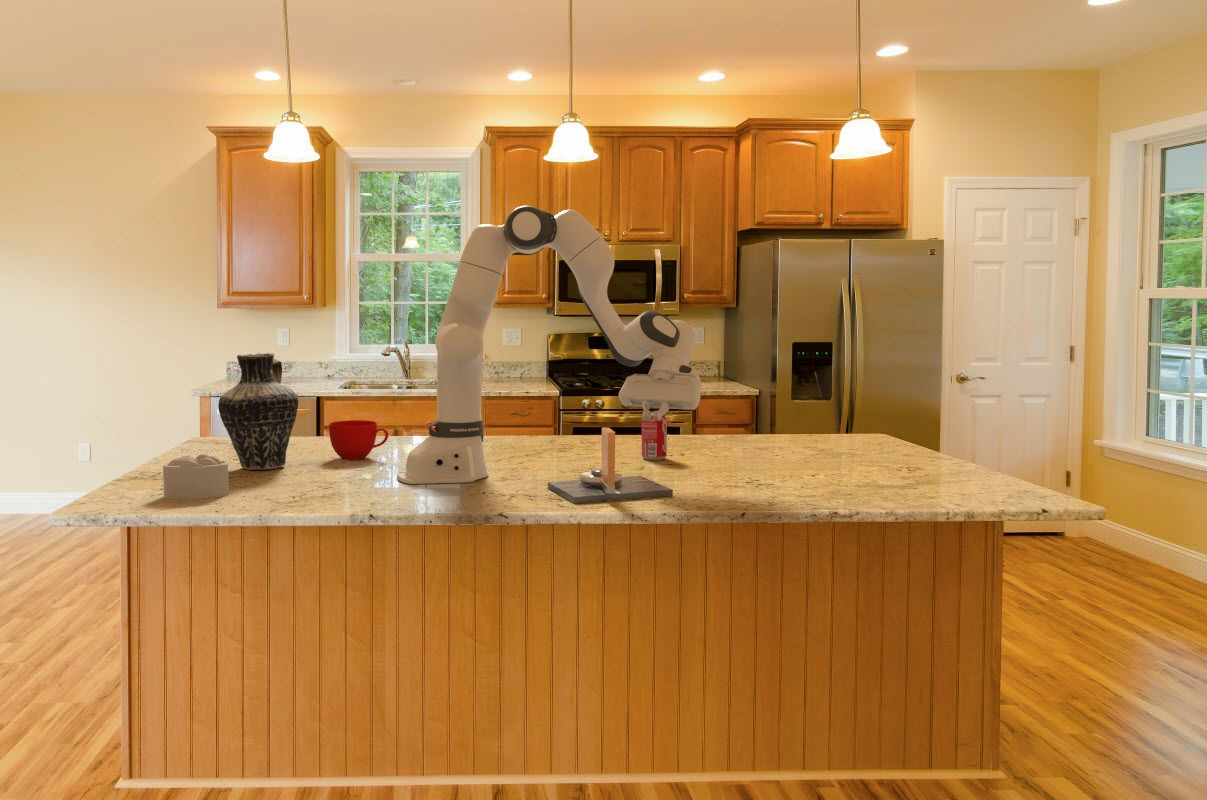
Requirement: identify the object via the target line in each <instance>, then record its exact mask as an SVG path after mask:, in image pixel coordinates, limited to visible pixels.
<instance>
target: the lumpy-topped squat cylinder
mask: <svg viewBox="0 0 1207 800" xmlns="http://www.w3.org/2000/svg"><path fill="white" fill-rule="evenodd" d="M162 472H163V473H162V476H163V477H162V478H163V496H164V497H163V498H164V499H167V500H207V499H215V498H217V499H218V498H221V497H222V498H223V497H226V496H228V495H229V494H230V487H229V464H228V462H227V461H225V460H221V459H220V458H218V457H216V456H214V455H209V454H204V453H202V454H199V455H197V456H196V457H194V456H191V455H190V456H189V455H184V456H183V455H182V456H179V457H177V458H174V459H172V460H170V461H169V462H168V463H167V464H164V465H163V466H162Z"/></svg>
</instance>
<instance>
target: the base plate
mask: <svg viewBox="0 0 1207 800" xmlns="http://www.w3.org/2000/svg"><path fill="white" fill-rule="evenodd" d="M547 489H548V490H549V491H552V492H553V493H555V494H556V495H558V496H560V497H562V498H563V499H566V500H567V501H569V502H571V504H574V505H575V504H586V503H588V504H590V503H603V502H613V501H614V502H615V501H624V500H625V501H627V500H628V501H629V500H640V499H652V498H665V497H667V498H668V497H673V495H674V489H673V488H669V487H668V486H666V485H663V484H661V483H659V482H655V481H653V480H650V478H649V479H648V478H646V477H643V476H641V475H632V476H622V482H621V483H620V484H617V485H615V494H607V493H606V492H605V491H604V490H603V489H602V487H601V486H593V485H586V484H582V483H580V482H579V479H576V480H575V479H573V480H560V481H548V482H547Z"/></svg>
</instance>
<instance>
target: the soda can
mask: <svg viewBox="0 0 1207 800" xmlns="http://www.w3.org/2000/svg"><path fill="white" fill-rule="evenodd" d="M654 412H655V411H653V412H651V411H650V413H651V417H650V420H644V419H643V417H642V418H641V457H642V458H643V459H644V460H646V461H663V460H665V459H666V457H667V455H668V454H667V451H668V450H667V449H668V448H667V444H668V439H667V437H668V436H667V434H668V433H667V431H668V429H667V426H668V425H667V422H668V421H667V417H666V413H665V414H664V415H663V416H662V417H661V420H660V421H657V420H654V418H653V414H654Z"/></svg>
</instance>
